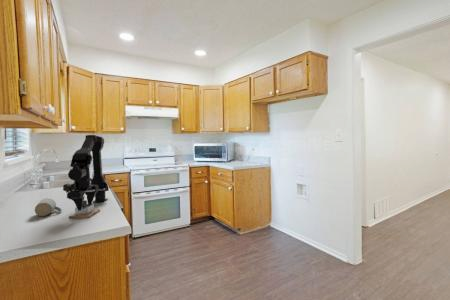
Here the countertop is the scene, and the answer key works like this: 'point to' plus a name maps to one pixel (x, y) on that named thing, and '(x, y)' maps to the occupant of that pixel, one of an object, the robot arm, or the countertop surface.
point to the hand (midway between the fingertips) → (84, 207)
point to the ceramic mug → (47, 207)
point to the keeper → (85, 214)
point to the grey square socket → (85, 210)
